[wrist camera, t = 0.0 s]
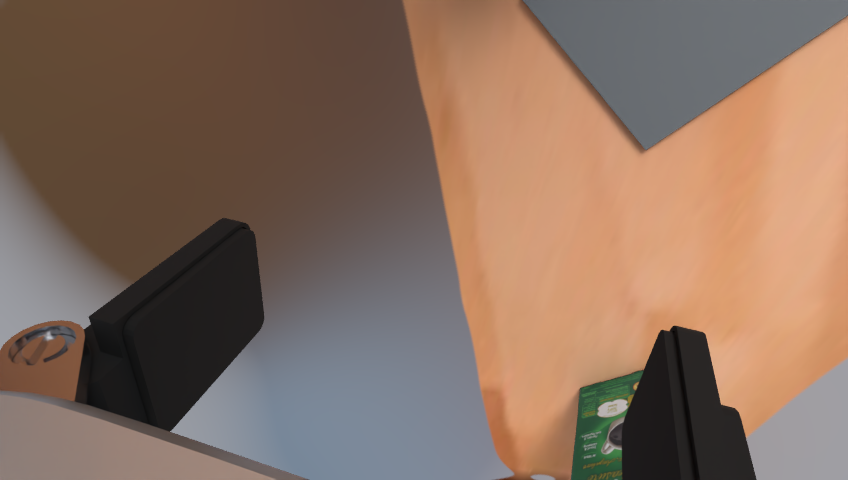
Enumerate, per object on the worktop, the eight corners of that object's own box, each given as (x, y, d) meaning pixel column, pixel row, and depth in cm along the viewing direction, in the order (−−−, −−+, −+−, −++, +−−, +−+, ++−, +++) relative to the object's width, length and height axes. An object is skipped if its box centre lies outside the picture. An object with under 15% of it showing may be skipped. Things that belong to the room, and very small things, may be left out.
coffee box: (591, 407, 53) (584, 530, 42) (576, 387, 52) (565, 506, 41) (671, 386, 49) (687, 516, 38) (656, 363, 48) (668, 490, 37)
